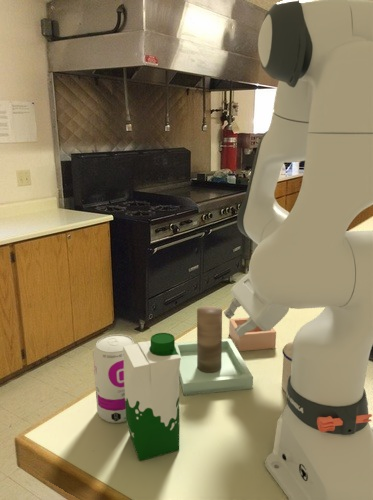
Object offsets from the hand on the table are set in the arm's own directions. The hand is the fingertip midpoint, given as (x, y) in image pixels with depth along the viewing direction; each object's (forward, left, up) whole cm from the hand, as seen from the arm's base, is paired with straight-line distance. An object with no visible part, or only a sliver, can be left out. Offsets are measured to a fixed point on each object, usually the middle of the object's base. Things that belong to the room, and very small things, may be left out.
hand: (231, 324), depth 97 cm
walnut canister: (0, +5, -10) cm, 11 cm away
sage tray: (0, +5, -11) cm, 12 cm away
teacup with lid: (-10, -14, -11) cm, 21 cm away
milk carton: (-22, +20, -11) cm, 32 cm away
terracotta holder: (+12, -9, -11) cm, 18 cm away
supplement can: (-12, +26, -11) cm, 31 cm away
